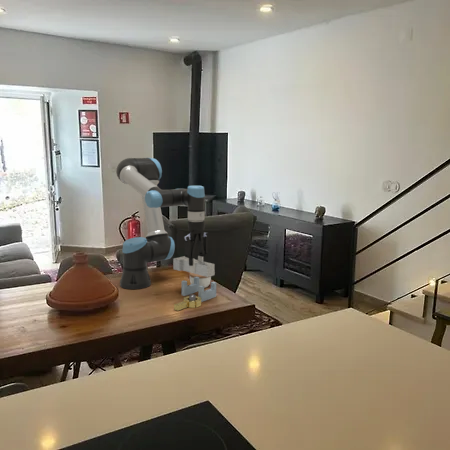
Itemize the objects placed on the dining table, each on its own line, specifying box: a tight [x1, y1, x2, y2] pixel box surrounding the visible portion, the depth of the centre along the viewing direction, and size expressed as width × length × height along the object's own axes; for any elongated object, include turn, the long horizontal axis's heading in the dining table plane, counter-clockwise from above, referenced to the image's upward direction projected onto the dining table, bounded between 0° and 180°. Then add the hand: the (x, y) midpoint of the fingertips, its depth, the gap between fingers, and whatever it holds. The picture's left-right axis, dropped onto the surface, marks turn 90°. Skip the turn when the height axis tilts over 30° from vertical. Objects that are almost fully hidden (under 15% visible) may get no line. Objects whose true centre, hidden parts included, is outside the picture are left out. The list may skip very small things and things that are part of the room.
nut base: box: [188, 293, 197, 301], centre depth 191 cm, size 9×9×6 cm
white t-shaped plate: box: [172, 255, 216, 277], centre depth 200 cm, size 21×7×5 cm, turn 46°
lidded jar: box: [188, 272, 212, 289], centre depth 216 cm, size 11×11×9 cm
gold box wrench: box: [173, 295, 202, 311], centre depth 189 cm, size 13×8×3 cm, turn 138°
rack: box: [181, 277, 217, 303], centre depth 202 cm, size 15×10×8 cm, turn 48°
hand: (196, 271), depth 199 cm, fingers closed on white t-shaped plate, 4 cm apart
